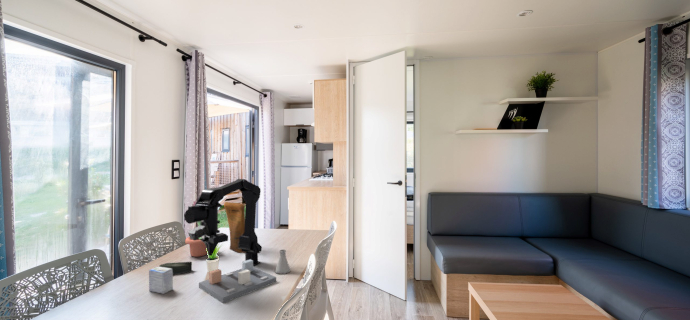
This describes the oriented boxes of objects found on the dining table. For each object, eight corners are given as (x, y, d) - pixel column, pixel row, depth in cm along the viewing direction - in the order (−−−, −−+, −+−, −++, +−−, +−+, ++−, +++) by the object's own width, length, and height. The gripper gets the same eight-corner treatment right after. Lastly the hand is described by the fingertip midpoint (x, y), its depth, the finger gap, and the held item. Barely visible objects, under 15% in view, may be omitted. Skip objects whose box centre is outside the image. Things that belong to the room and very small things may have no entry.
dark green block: (192, 260, 138) (155, 263, 133) (191, 262, 136) (153, 265, 130) (191, 270, 138) (155, 274, 133) (191, 273, 136) (153, 277, 130)
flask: (286, 275, 133) (286, 253, 132) (272, 273, 134) (272, 252, 134) (292, 269, 140) (292, 248, 140) (278, 268, 141) (278, 247, 141)
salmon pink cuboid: (209, 282, 119) (209, 271, 119) (218, 279, 122) (218, 268, 122) (211, 284, 118) (211, 273, 118) (221, 281, 121) (221, 270, 121)
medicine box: (173, 289, 118) (173, 268, 118) (163, 294, 114) (163, 272, 114) (159, 286, 120) (158, 265, 120) (148, 291, 116) (148, 269, 116)
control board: (198, 287, 120) (198, 281, 120) (250, 270, 138) (250, 264, 138) (222, 303, 107) (222, 296, 107) (276, 281, 125) (276, 275, 125)
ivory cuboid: (238, 283, 119) (238, 272, 119) (247, 280, 122) (247, 269, 122) (241, 284, 117) (241, 273, 117) (250, 281, 120) (250, 270, 120)
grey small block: (242, 271, 131) (242, 261, 131) (250, 269, 134) (250, 259, 134) (245, 273, 129) (245, 263, 129) (253, 270, 132) (253, 260, 132)
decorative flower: (219, 253, 161) (219, 200, 161) (195, 261, 149) (195, 203, 149) (204, 249, 169) (203, 198, 169) (180, 256, 157) (179, 201, 157)
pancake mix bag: (239, 255, 158) (239, 204, 158) (222, 248, 171) (222, 201, 170) (250, 252, 163) (250, 203, 163) (233, 245, 176) (233, 199, 176)
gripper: (180, 218, 123) (180, 255, 123) (201, 225, 111) (201, 265, 111) (207, 214, 131) (207, 249, 131) (228, 220, 120) (228, 258, 120)
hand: (210, 255), depth 123 cm, fingers closed
